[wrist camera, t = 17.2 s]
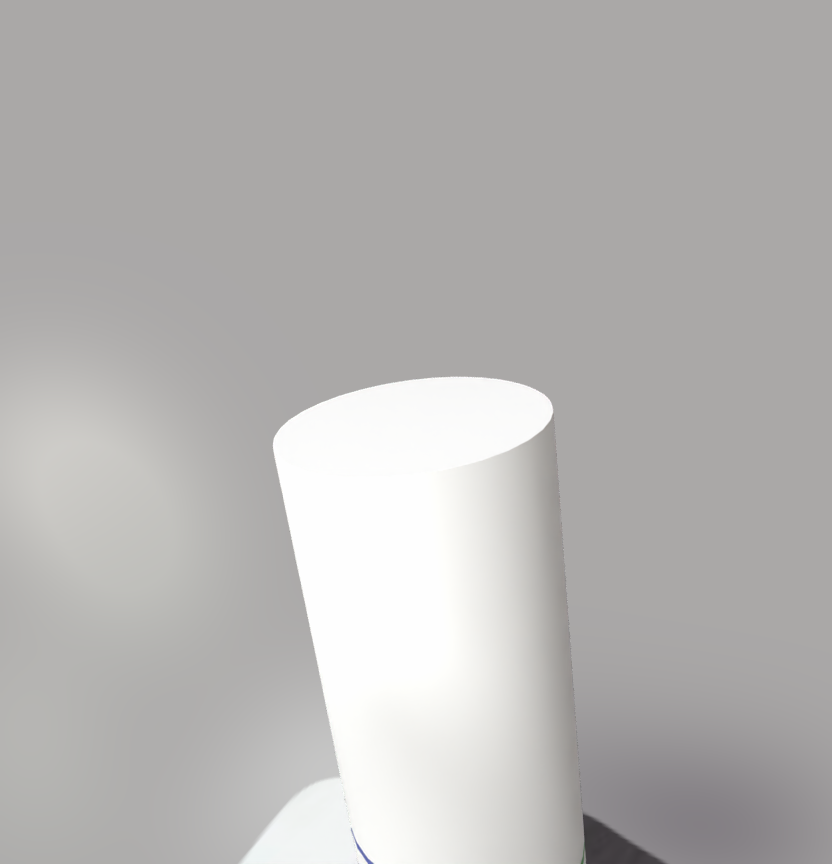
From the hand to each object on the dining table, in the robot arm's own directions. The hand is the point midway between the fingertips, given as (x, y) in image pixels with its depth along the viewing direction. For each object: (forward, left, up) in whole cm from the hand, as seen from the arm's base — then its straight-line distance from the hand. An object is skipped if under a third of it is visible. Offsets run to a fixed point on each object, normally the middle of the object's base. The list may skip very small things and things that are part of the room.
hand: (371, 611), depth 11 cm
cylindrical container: (-3, -9, -26) cm, 28 cm away
